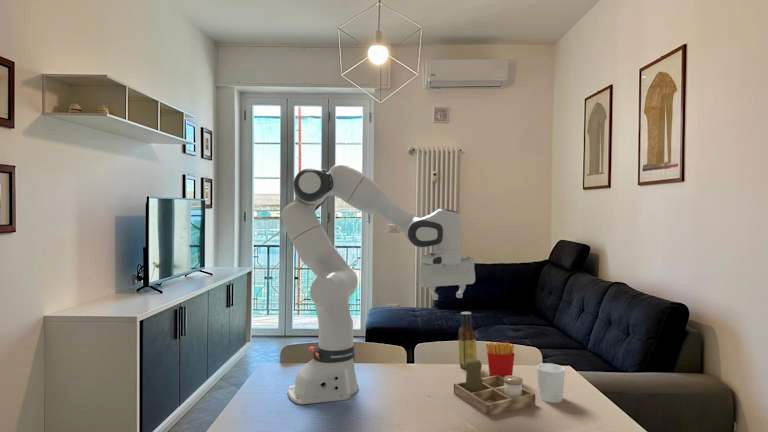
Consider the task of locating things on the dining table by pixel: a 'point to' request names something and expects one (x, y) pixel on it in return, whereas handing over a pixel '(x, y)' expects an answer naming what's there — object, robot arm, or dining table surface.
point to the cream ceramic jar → (513, 386)
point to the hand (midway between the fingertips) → (447, 298)
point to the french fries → (500, 359)
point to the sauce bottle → (466, 339)
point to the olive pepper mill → (473, 375)
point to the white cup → (550, 382)
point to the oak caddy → (493, 396)
